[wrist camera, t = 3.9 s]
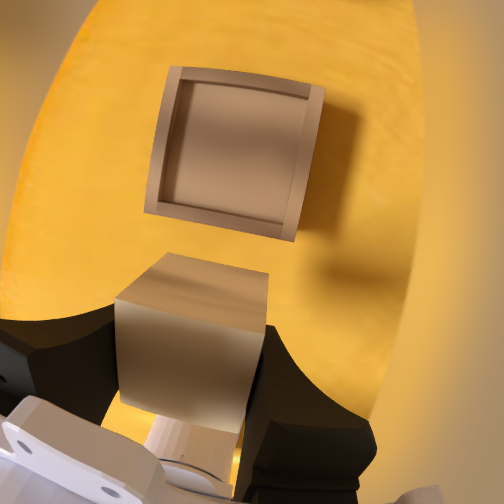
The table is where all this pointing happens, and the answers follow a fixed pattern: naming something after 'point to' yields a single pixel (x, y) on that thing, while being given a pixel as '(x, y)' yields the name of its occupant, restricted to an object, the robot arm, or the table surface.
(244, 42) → the table surface
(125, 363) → the block
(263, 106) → the tray
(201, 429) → the robot arm
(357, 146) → the table surface
